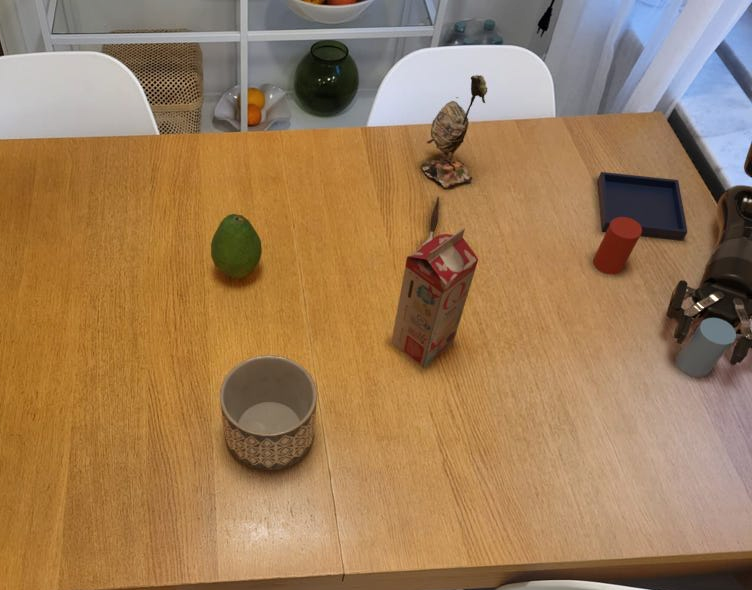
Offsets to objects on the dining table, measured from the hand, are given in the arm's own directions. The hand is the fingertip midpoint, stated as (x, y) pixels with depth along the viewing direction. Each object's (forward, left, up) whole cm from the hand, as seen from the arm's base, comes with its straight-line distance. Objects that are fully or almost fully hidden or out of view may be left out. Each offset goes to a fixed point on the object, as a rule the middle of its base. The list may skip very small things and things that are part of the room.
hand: (707, 350), depth 106 cm
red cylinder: (+10, -21, -6) cm, 24 cm away
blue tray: (+4, -35, -6) cm, 36 cm away
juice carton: (+39, +1, -6) cm, 40 cm away
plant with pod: (+38, -40, -6) cm, 56 cm away
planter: (+59, +21, -6) cm, 63 cm away
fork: (+39, -24, -6) cm, 46 cm away
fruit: (+70, -9, -6) cm, 71 cm away
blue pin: (-1, -2, -6) cm, 6 cm away
